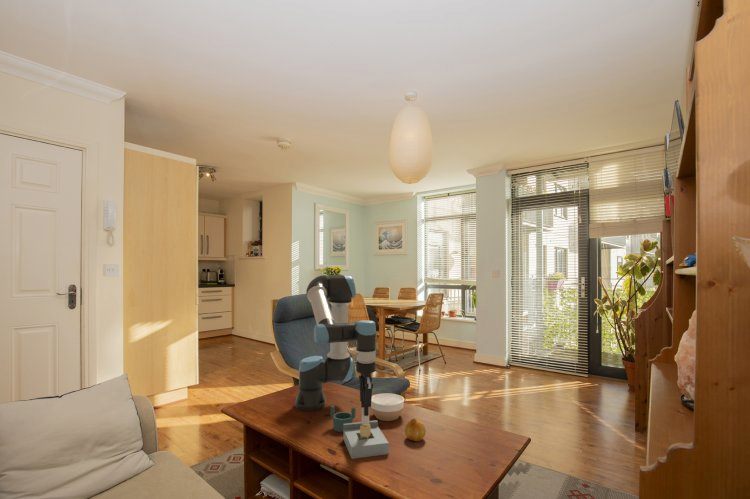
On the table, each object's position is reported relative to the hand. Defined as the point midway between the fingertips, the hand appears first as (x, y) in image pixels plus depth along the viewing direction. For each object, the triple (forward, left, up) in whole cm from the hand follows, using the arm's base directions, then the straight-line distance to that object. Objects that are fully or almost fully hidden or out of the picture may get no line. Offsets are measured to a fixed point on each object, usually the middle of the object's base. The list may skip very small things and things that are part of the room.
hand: (365, 423), depth 145 cm
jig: (0, 0, -9) cm, 9 cm away
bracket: (-19, -5, -9) cm, 22 cm away
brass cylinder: (0, 0, -9) cm, 9 cm away
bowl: (-26, +17, -9) cm, 32 cm away
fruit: (-1, +21, -9) cm, 23 cm away
